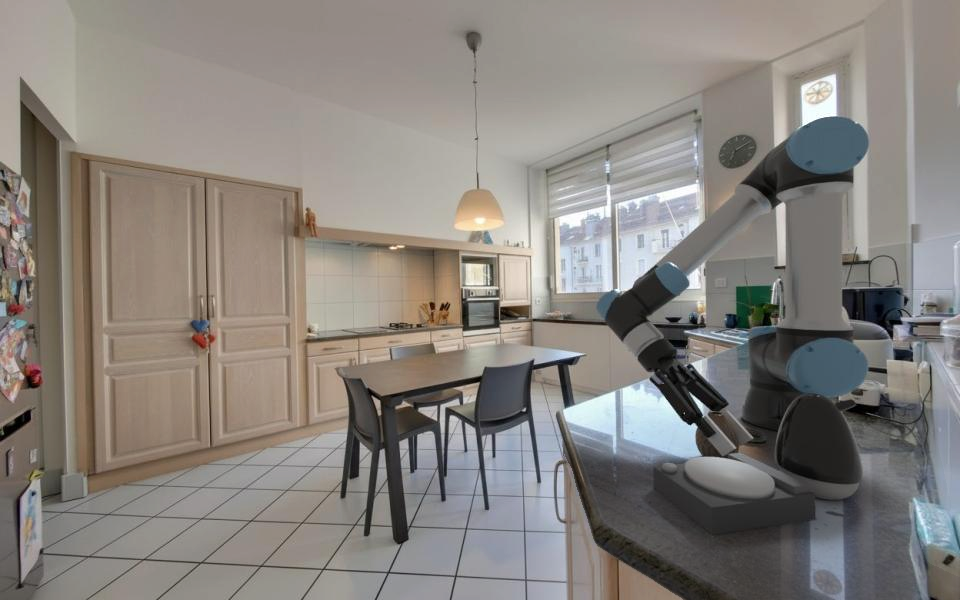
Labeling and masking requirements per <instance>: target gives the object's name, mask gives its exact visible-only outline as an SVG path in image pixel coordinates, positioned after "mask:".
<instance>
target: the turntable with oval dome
mask: <svg viewBox="0 0 960 600" xmlns="http://www.w3.org/2000/svg"><path fill="white" fill-rule="evenodd" d="M652 468H653V469H652V470H653V471H652V473H653V474H652V475H653V476H652V477H653V489H654V490H655V491H657V492H658V493H659V494H660V495H661V496H663V497H664V498H665V499H667V501H669V502H670V503H671V504H673V505H674V506H675V507H677V508H678V509H679V510H680V511H682V512H683V513H684V514H686V515H687V516H688V517H689V518H691V519H692V520H693V521H694V522H696V523H697V524H698V525H699V526H701V527H702V528H703V529H705V530H706V531H707V532H708V533H709V534H711V535H712V536H714V535H718V534H719V535H721V534H726V533H733V532H740V531H746V530H754V529H760V528H767V527H774V526H775V527H776V526H780V525H787V524H794V523H801V522H808V521H815V520H816V519H817V514H816V513H817V510H816V509H817V508H816V497H815V494H814V493H812V492H810V491H809V485H808V484H806V483H804V482H802V481H800V480H798V479H796V478H793V477H791V476H789V475H787V474H785V473H783V472H781V471H780V470H779V469H776V468H775V467H772V466H770V465H768V464H765V463H763V462H761V461H759V460H757V459H755V458H753V457H751V456H748V455H746V454H743V452H738V453H733V454H728V459H726V458H719V457H703V456H699V457H697V456H696V457H693V458H689V459H688V460H687V461H686V462H684V463H677V464H676V463H672V462H663V463H662V465H658V466H653V467H652Z"/></svg>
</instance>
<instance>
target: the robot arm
mask: <svg viewBox="0 0 960 600" xmlns="http://www.w3.org/2000/svg"><path fill="white" fill-rule="evenodd" d="M868 135H869V134H868V133H867V131H866V130H865V128H864V127H863V126H862V125H861V124H860V123H859V122H856V121H854V120H853V119H851V118H850V117H846V116H842V115H824V116H821V117H817V118H814V119H812V120H809V121H808V122H806V123H805V124H803V125H802V126H799V127H797V128H796V129H794V131H792V132H791V133H790V135H789V136H788V137H787V138H785V139H784V140H783V141H782V142H780V143H779V144H778V145H776V146H775V147H774V148H772V149H771V150H770V151H769V152H768V153H766V155H765V156H764V157H762V159H761V160H760V161H759V163H758V164H757V165H756V166H755V167H754V168H753V169H752V171H751V172H750V173H749V174H747V175H746V177H745V178H744V179H742V181H741V182H740V183H739V184H738V185H736V186H735V188H734V194H732V195H731V196H730V197H729V198H728V199H726V200H725V202H724V203H723V204H721V205H720V206H719V207H718V208H717V209H716V210H714V211H713V212H712V213H711V214H710V215H709V216H708V217H707V218H706V219H704V220H703V221H702V222H701V223H700V224H698V226H697V227H695V228H694V229H693V230H692V231H690V233H688V234H687V236H685V237H684V238H683V239H682V240H681V241H680V242H678V243H677V244H676V245H675V246H674V247H672V249H670V250H669V252H667V253H666V254H665V255H664V256H663V257H661V258H660V260H658V261H657V262H656V263H655V264H654V265H653V266H652V267H651V268H650V269H648V271H646V272H645V273H643V275H642V276H640V277H637V279H636V280H635V281H634V283H633V285H632V287H631V288H629V289H628V290H626V291H622V290H621V289H619V288H614V289H612V290H610V291H607V292H605V293H604V294H603V295H602V296H601V297H600V298H599V299H598V301H597V302H596V305H595V306H596V307H595V309H596V312H597V313H598V314H599V316H600V318H601V319H602V321H604V323H605V324H606V326H608V327H609V329H611V331H612V332H613V333H614V334H615V336H617V338H618V339H619V340H620V341H621V343H622V344H623V345H624V346H626V349H628V350H627V351H628V352H629V353H631V354H632V355H633V357H635V358H637V361H638V363H639V364H640V366H642V367H643V369H644V370H645V371H646V372H648V373H653V375H652V376H650V377H649V379H648V380H649V381H650V382H651V383H652V384H653V386H655V387H656V389H658V390H659V391H660V393H661V394H662V396H663V398H665V399H666V401H667V402H668V404H669V405H670V407H672V409H673V410H674V411H675V413H676V414H677V416H678V417H679V418H680V420H682V422H684V423H686V424H687V425H689V426H692V425H693V424H694V425H695V426H696V428H697V427H698V428H699V429H700V430H701V432H702V433H703V434H704V435H705V436H706V437H707V439H708V440H709V441H710V442H711V443H712V445H713V446H714V447H715V448H716V449H717V450H718V452H719V453H720V454H721V455H722V456H724V455H726V454H727V453H729V452H731V451H732V450H734V449H736V447H735V446H734V444H733V443H732V442H731V441H730V440H729V439H728V438H727V437H726V435H725V434H724V433H723V432H722V431H721V430H720V429H719V428H718V426H717V425H716V424H715V423H714V422H713V421H712V420H711V419H710V417H709V416H708V415H707V414H706V415H704V414H703V412H702V410H701V408H699V406H698V404H697V402H696V401H695V399H694V398H696V400H698V401H699V402H700V403H702V404H703V405H704V406H705V407H706V408H708V409H709V410H710V411H717V412H721V413H723V414H724V416H725V418H726V419H727V421H728V422H729V423H730V424H731V425H732V427H733V428H734V429H735V431H736V433H737V436H738V439H739V447H741V446H743V445H745V444H747V443H748V442H749V441H752V440H753V439H754V437H753V436H752V434H751V433H749V431H748V430H747V429H746V428H745V427H744V426H743V425H742V424H741V422H739V421H738V419H737V418H736V417H735V416H734V415H733V414H732V413H731V412H730V411H729V410H728V409H727V407H728V406H729V405H730V403H729V402H728V400H727V399H726V398H725V397H724V396H723V395H722V394H721V393H720V392H719V391H718V390H717V389H716V388H715V387H714V386H713V385H712V384H711V383H710V382H709V381H707V379H706V378H705V377H704V376H703V375H701V373H700V372H699V371H698V370H697V369H696V368H695V366H694V365H693V364H691V363H689V362H688V364H686V365H684V364H683V363H681V361H679V360H678V359H677V357H676V356H677V354H678V350H677V349H676V347H675V346H674V345H673V344H672V343H671V342H670V341H669V340H668V339H667V338H664V336H665V335H664V334H663V333H662V332H661V331H660V330H659V329H658V328H657V327H656V326H655V325H654V324H653V323H652V322H651V321H650V320H649V319H648V318H649V317H651V316H652V315H653V314H654V313H656V312H657V311H658V310H660V309H662V308H663V307H664V306H666V305H667V304H668V303H670V302H671V301H673V300H674V299H675V298H677V297H680V296H681V294H682V293H683V292H684V291H686V290H687V289H688V288H689V287H690V280H689V278H688V277H689V276H690V275H691V274H693V272H695V271H696V270H697V269H698V268H700V267H701V266H702V265H703V264H704V263H706V261H707V260H709V259H710V258H711V257H712V256H713V255H715V254H716V253H717V252H719V250H721V248H723V247H724V246H725V245H726V244H727V243H729V242H730V241H731V240H733V238H734V237H736V236H737V235H738V234H739V233H740V232H742V231H743V230H744V229H745V228H746V227H748V225H750V224H752V222H754V220H755V219H757V218H759V216H760V215H766V214H769V213H771V212H772V211H773V210H774V209H775V208H776V207H777V206H779V205H781V204H782V203H783V204H784V205H785V317H784V319H782V320H780V321H779V322H778V323H777V324H776V325H765V326H761V325H760V326H754V327H751V328H750V329H749V331H748V339H747V343H748V368H749V370H748V371H749V388H748V392H747V394H746V398H745V400H744V404H743V405H742V408H741V416H742V417H741V418H742V419H743V420H744V421H745V422H747V423H749V424H751V425H754V426H757V427H761V428H762V429H763V428H764V429H768V430H774V431H777V432H778V430H779V427H780V424H781V421H782V419H783V416H784V414H785V412H786V410H787V409H788V407H789V405H790V404H791V403H792V401H793V400H794V399H795V398H796V397H798V396H800V395H802V394H806V393H816V394H820V395H823V396H825V397H827V398H838V397H843V396H845V395H848V394H850V393H852V392H853V391H854V390H857V389H858V388H860V387H861V386H862V384H863V383H864V382H865V380H866V378H867V376H868V372H869V362H868V359H867V356H866V354H865V353H864V352H863V351H862V350H861V349H860V347H858V346H857V345H856V344H854V327H853V326H852V325H850V324H849V323H848V322H847V321H845V320H844V318H843V197H844V196H845V195H846V194H847V193H848V192H849V191H851V189H853V187H854V178H855V177H854V176H855V173H854V170H855V169H854V168H855V167H856V166H857V165H859V164H860V162H861V161H862V160H863V159H864V158H865V156H866V154H867V152H868V150H869V145H870V140H869V136H868Z"/></svg>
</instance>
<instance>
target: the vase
mask: <svg viewBox="0 0 960 600" xmlns="http://www.w3.org/2000/svg"><path fill="white" fill-rule="evenodd" d="M706 415H708V416H709V417H710V419H711V420H712V421H713V422H714V423H715V424H716V425H717V426H718V428H719V429H720V430H721V431H722V432H723V433H724V434H725V435H726V437H727V438H728V439H729V440H730V441H731V442H732V443H733V444H734V446H735V447H736V449H734V450H732V451H731V452H729V453H727V454H726V455H724V456H722V455H721V454H720V453H719V452H718V450H717V449H716V448H715V447H714V446H713V445H712V443H711V442H710V441H709V440H708V439H707V437H706V436H705V435H704V434H703V433H702V432H701V430H700V429H699V428H698V427H697V426H696V430H695V445H696V448H697V450H698V452H699V453H700V454H701V457H719V458H726V459H728V454H733V453H739V451H740V445H739V439H738V436H737V433H736V431H735V429H734V428H733V427H732V425H731V424H730V423H729V422H728V421H727V419H726V418H725V416H724V414H723V413H721V412H717V411H711V410H710V411H708V413H707V414H706Z"/></svg>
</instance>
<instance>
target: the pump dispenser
mask: <svg viewBox="0 0 960 600" xmlns="http://www.w3.org/2000/svg"><path fill="white" fill-rule="evenodd" d="M856 406H857V403H856V401H855V400H854V399H846V400H841V401H837V402H834V401H833V400H832V399H830V397H825V396H823V395H820V394H816V393H806V394H802V395H800V396H798V397H796V398H795V399H794V400H793V401H792V403H791V404H790V405H789V407H788V409H787V410H786V412H785V414H784V416H783V419H782V421H781V424H780V427H779V430H778V431H777V434H776V438H775V439H776V440H775V446H774V454H773V455H774V462H775V464H776V465H777V467H778V471H781V472H783V473H785V474H787V475H789V476H791V477H793V478H796V479H798V480H800V481H802V482H804V483H806V484H808V485H809V491H810V492H812V493H814V494H815V498H817V499H822V500H829V501H830V500H843V499H847V498H849V497H851V496H852V495H853V494H854V493H856V492H857V490H858V489H859V486H860V483H861V482H863V480H864V468H863V462H862V458H861V454H860V453H861V452H860V449H859V447H858V444H857V441H856V438H855V435H854V433H853V430H852V428H851V426H850V424H849V422H848V420H847V418H846V416H845V415H844V414H843V412H844V411H846V410H849V409H851V408H854V407H856Z"/></svg>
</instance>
